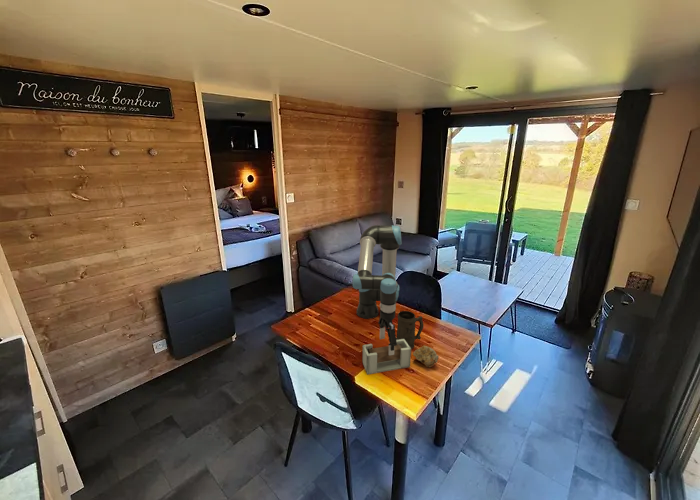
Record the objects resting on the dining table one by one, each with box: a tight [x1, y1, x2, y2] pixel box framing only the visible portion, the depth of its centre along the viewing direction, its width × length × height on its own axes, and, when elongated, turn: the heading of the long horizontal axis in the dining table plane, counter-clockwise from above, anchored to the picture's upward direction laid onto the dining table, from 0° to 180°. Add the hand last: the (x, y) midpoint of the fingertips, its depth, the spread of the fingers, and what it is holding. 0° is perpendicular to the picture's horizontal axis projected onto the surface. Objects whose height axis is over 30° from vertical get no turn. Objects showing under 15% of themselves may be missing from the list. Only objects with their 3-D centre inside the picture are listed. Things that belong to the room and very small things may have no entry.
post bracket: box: [361, 339, 412, 376], centre depth 154 cm, size 9×23×11 cm, turn 103°
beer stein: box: [396, 310, 424, 350], centre depth 170 cm, size 15×11×20 cm
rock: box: [412, 345, 440, 368], centre depth 155 cm, size 12×10×10 cm
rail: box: [368, 344, 404, 363], centre depth 154 cm, size 18×4×6 cm, turn 103°
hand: (386, 346), depth 153 cm, fingers open, 13 cm apart
